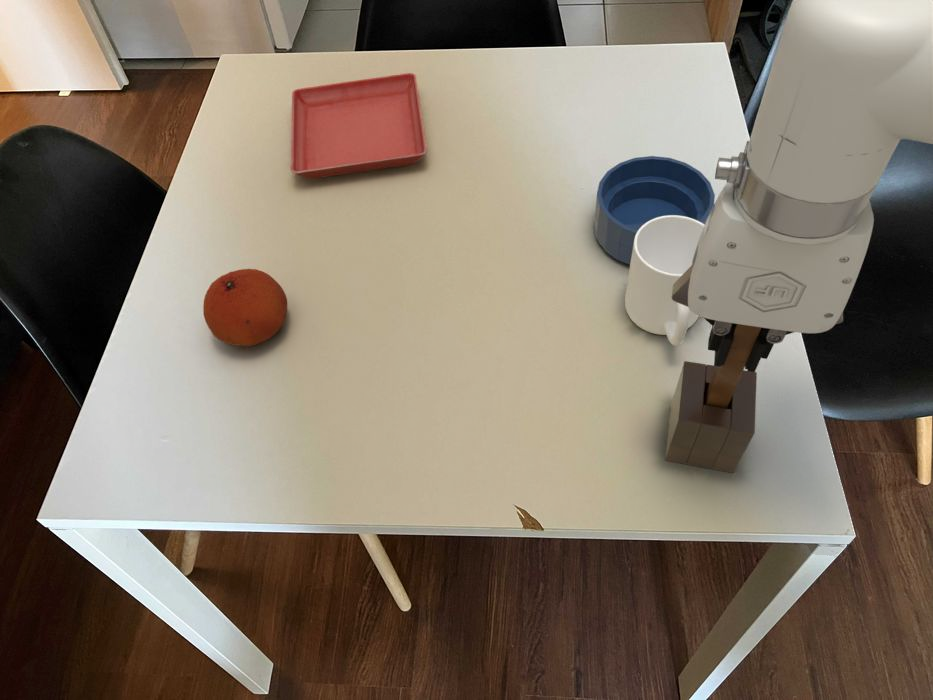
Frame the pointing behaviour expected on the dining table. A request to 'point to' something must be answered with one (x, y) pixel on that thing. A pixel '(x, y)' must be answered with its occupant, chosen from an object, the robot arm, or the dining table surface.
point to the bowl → (647, 199)
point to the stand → (710, 421)
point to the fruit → (244, 307)
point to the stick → (731, 367)
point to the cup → (661, 275)
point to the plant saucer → (356, 126)
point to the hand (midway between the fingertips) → (734, 353)
